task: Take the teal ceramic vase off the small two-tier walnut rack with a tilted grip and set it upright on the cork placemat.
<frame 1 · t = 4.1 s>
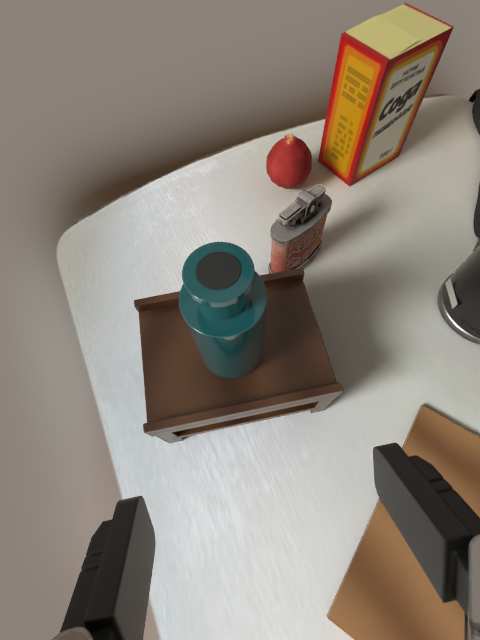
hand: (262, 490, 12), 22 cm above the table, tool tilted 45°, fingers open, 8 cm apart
baking soda box: (357, 159, 50), on the table
placemat: (462, 555, 29), on the table
lighter: (294, 259, 43), on the table
onion: (286, 187, 49), on the table
vase: (231, 346, 31), point 7 cm above the table, touching rack
rack: (236, 370, 37), on the table
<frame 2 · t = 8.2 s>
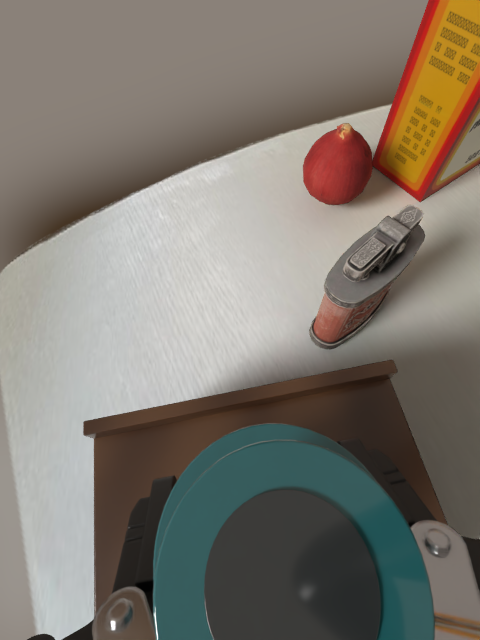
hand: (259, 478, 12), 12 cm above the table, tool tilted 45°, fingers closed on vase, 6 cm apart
baking soda box: (427, 163, 36), on the table
lighter: (347, 313, 28), on the table
onion: (328, 202, 34), on the table
vase: (267, 522, 16), point 7 cm above the table, touching gripper, rack
rack: (264, 513, 22), on the table
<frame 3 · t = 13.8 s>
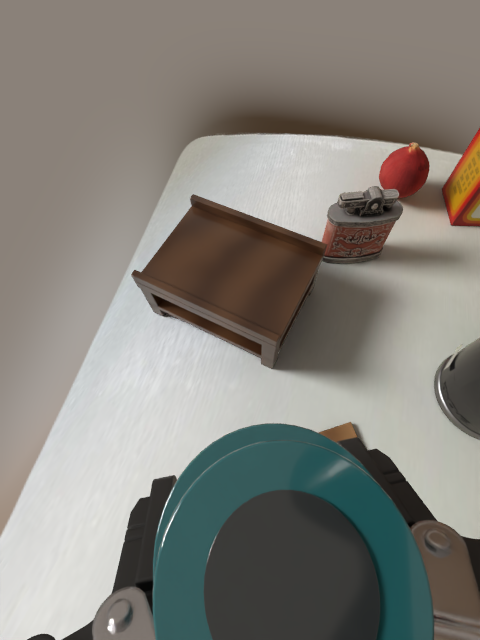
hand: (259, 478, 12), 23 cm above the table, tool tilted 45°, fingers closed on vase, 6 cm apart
placemat: (282, 539, 31), on the table
lighter: (348, 253, 45), on the table
onion: (393, 195, 49), on the table
vase: (267, 522, 16), point 18 cm above the table, touching gripper
rack: (234, 299, 42), on the table
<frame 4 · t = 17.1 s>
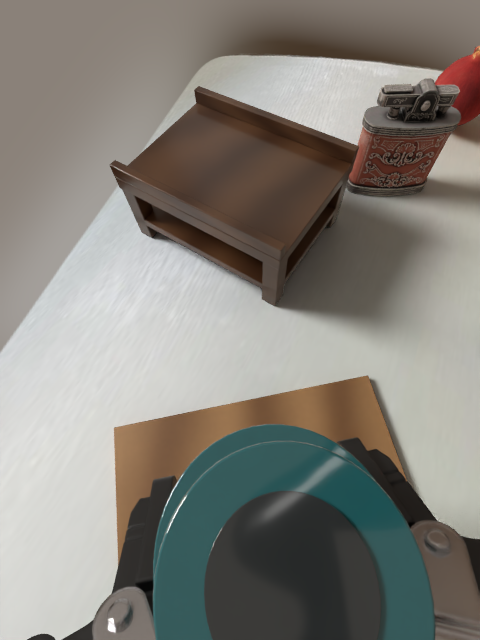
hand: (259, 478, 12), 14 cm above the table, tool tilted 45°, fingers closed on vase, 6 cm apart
placemat: (264, 509, 24), on the table
lighter: (383, 185, 37), on the table
onion: (443, 127, 40), on the table
vase: (267, 522, 16), point 9 cm above the table, touching gripper
rack: (238, 225, 35), on the table
when the fingers open (5 cm above the table, at t = 19.8 s): vase stays where it is, resting on placemat.
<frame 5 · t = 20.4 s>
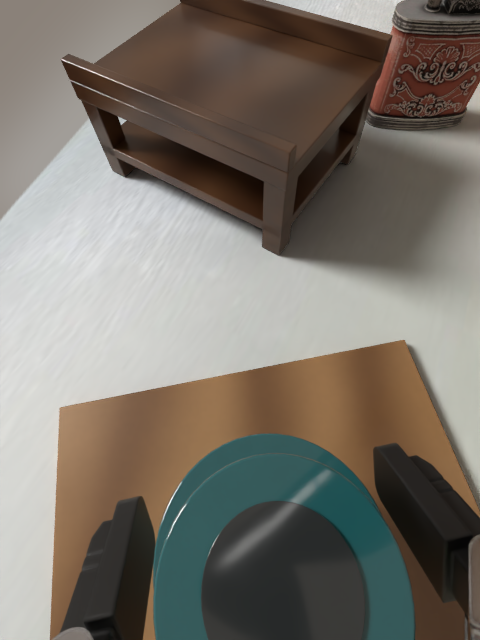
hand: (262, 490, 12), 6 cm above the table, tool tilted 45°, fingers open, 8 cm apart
placemat: (264, 521, 17), on the table
lighter: (411, 119, 30), on the table
vase: (264, 525, 16), resting on placemat
rack: (233, 163, 28), on the table
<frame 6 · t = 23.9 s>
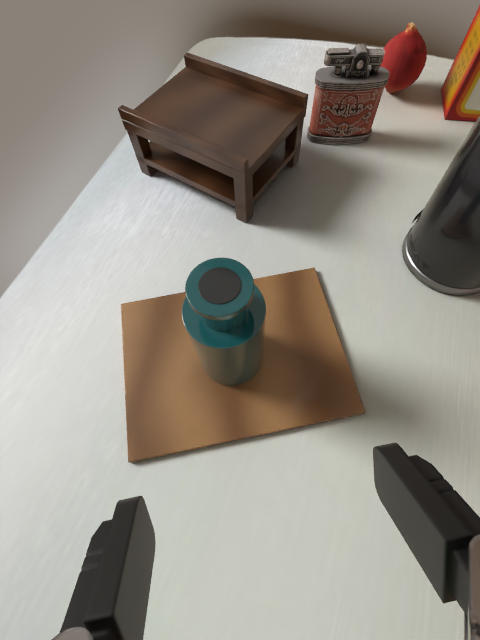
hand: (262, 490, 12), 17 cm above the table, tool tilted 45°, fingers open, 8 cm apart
baking soda box: (478, 107, 47), on the table
placemat: (232, 355, 32), on the table
lighter: (337, 137, 45), on the table
onion: (390, 93, 49), on the table
vase: (231, 354, 32), resting on placemat
rack: (219, 166, 43), on the table
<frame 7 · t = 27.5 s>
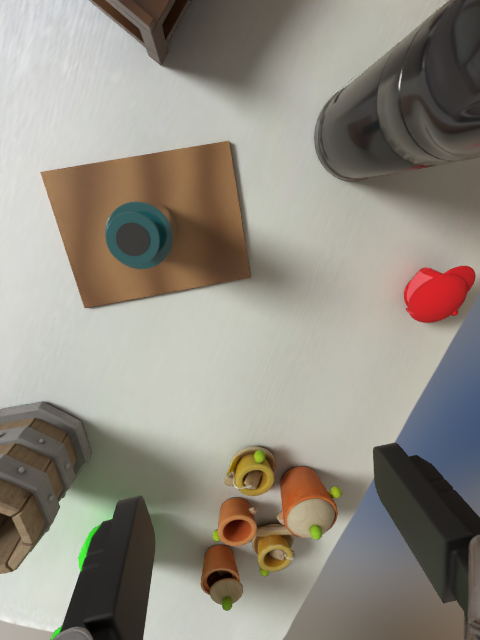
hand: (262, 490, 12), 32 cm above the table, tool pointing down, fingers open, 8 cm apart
cap: (422, 287, 45), on the table
tankard: (13, 431, 45), on the table
placemat: (153, 228, 39), on the table
toy tea set: (258, 511, 54), on the table
vase: (152, 230, 39), resting on placemat
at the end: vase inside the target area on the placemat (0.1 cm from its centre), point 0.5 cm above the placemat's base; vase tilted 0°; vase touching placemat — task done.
